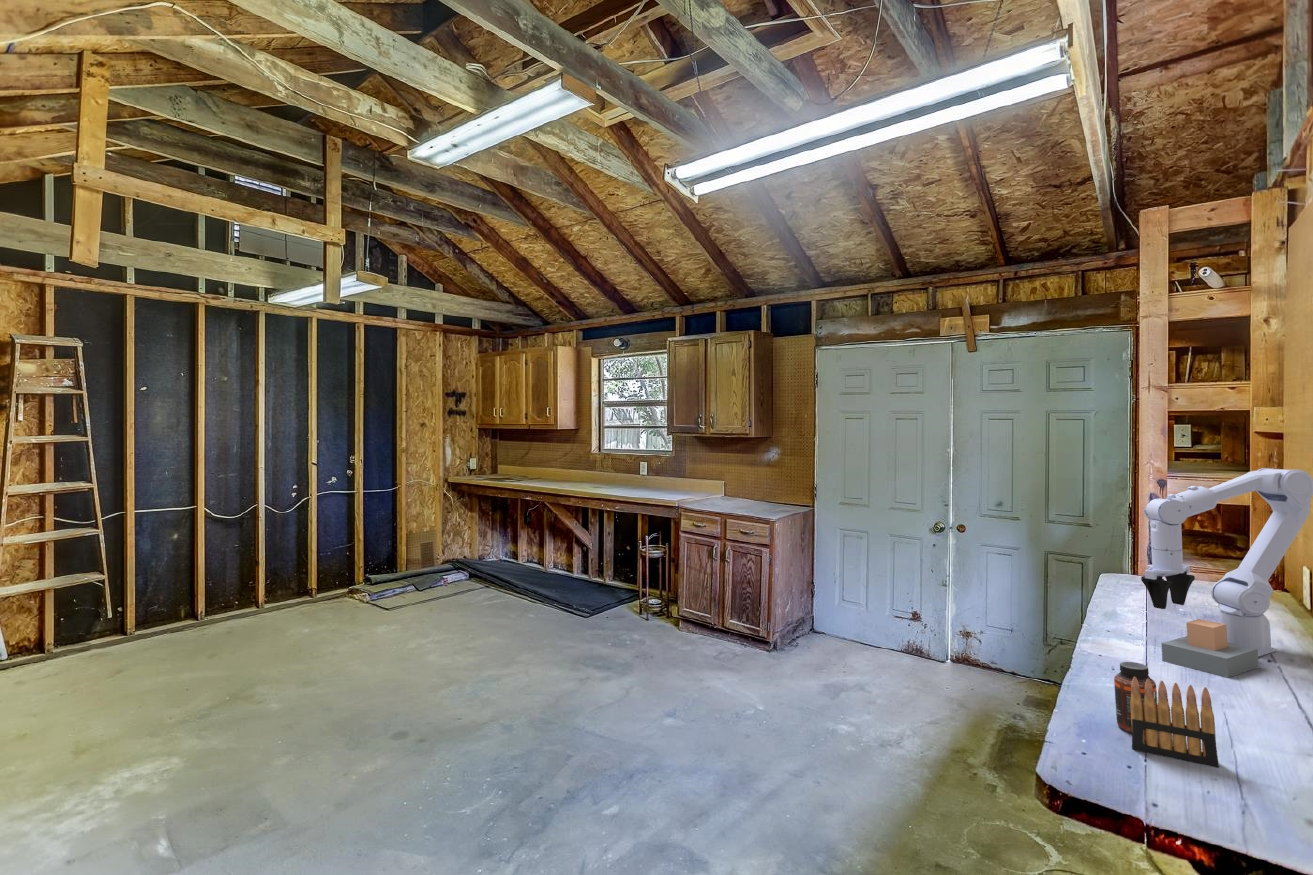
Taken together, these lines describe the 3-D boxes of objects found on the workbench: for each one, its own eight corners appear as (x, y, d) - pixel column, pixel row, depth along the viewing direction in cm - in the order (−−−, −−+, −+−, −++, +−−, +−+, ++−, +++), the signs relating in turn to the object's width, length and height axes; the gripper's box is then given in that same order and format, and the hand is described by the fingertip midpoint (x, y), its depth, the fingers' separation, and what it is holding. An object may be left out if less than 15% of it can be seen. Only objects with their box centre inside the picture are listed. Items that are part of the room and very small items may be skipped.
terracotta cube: (1200, 640, 140) (1199, 618, 140) (1227, 647, 135) (1226, 624, 135) (1187, 644, 138) (1186, 622, 138) (1215, 650, 133) (1213, 627, 133)
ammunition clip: (1132, 749, 102) (1127, 677, 102) (1132, 745, 103) (1127, 673, 103) (1219, 768, 95) (1214, 690, 95) (1217, 763, 96) (1212, 686, 97)
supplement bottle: (1167, 738, 105) (1163, 671, 105) (1128, 736, 106) (1124, 670, 106) (1147, 722, 111) (1143, 659, 111) (1110, 721, 112) (1106, 658, 112)
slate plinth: (1192, 651, 144) (1191, 634, 144) (1258, 667, 133) (1257, 649, 133) (1162, 660, 140) (1161, 643, 140) (1228, 677, 129) (1226, 658, 129)
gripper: (1165, 544, 153) (1167, 598, 153) (1129, 549, 147) (1132, 606, 147) (1199, 548, 147) (1201, 605, 146) (1163, 553, 141) (1166, 613, 141)
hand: (1169, 606), depth 146 cm, fingers open, 7 cm apart
